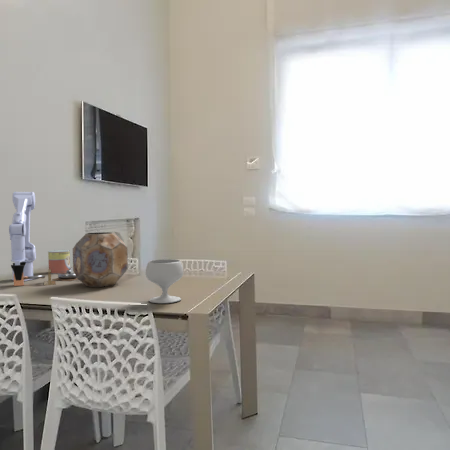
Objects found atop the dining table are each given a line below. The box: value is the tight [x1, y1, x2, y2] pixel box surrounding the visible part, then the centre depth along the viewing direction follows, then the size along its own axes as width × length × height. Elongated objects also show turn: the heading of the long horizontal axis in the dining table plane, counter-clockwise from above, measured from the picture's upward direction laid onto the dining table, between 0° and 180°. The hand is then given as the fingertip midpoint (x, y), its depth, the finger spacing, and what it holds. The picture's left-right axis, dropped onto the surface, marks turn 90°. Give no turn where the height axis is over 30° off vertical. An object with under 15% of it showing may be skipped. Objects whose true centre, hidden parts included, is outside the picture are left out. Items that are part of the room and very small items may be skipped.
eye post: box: [43, 268, 56, 286], centre depth 204 cm, size 5×10×6 cm, turn 22°
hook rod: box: [13, 272, 46, 287], centre depth 201 cm, size 13×4×6 cm, turn 112°
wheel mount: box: [51, 277, 78, 282], centre depth 217 cm, size 11×11×1 cm
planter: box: [72, 231, 129, 288], centre depth 198 cm, size 22×24×24 cm
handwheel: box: [57, 266, 76, 279], centre depth 217 cm, size 10×10×4 cm
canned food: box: [47, 249, 71, 275], centre depth 240 cm, size 11×11×12 cm
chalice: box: [145, 258, 184, 304], centre depth 162 cm, size 14×14×15 cm
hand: (19, 279), depth 200 cm, fingers open, 7 cm apart
